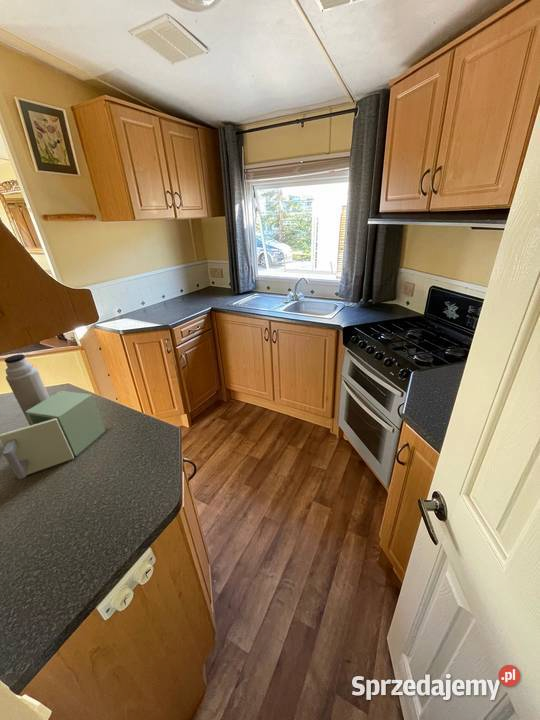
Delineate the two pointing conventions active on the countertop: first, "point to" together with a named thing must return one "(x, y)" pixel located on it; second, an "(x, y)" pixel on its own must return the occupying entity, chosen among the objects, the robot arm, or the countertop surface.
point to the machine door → (35, 447)
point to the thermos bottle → (25, 383)
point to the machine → (70, 417)
